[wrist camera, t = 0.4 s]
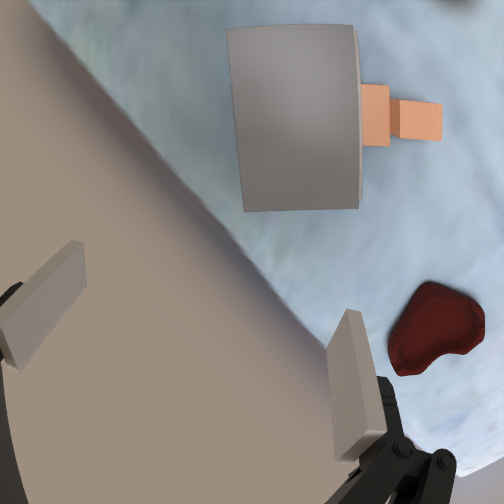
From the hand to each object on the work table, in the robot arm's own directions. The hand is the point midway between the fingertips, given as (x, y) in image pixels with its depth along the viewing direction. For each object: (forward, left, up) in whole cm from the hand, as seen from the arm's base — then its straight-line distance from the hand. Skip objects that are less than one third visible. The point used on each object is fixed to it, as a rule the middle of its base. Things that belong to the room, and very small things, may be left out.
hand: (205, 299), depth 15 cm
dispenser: (-6, +6, -27) cm, 28 cm away
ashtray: (+25, +27, -27) cm, 46 cm away
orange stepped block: (-6, +12, -24) cm, 28 cm away
